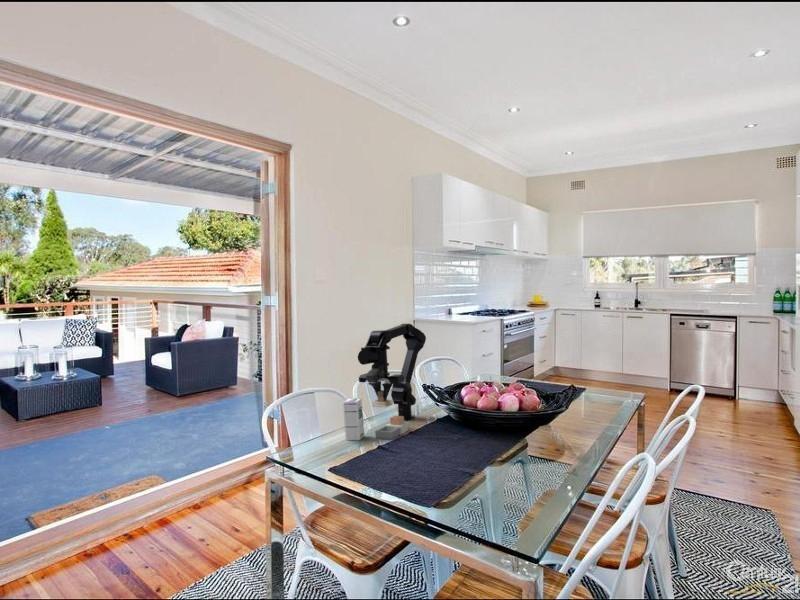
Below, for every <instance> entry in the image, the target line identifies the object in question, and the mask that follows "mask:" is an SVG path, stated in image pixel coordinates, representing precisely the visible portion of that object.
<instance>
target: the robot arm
mask: <svg viewBox="0 0 800 600" xmlns="http://www.w3.org/2000/svg"><path fill="white" fill-rule="evenodd" d="M369 333H370V334H369V336H368V339H367V342H366V344H365V346H364V347H363V346H362V347H361V348H360V351H359V352H358V355H357V360H358V362H359V363H360V365H363V366H364V365H370V364H371V369H369V371H368V372H367V373H363V374H360V375H359V376H358V383H366V382H367V384H368V385H369V386H371V387H372V389H373V390H374V392H375V394H376V397H377V398H378V394H377V392H378V391H380V390H382V387H383V390H384V400H386V399H388V396H389V394H390V393H391V394H390V397H391V400H392V402H393V404H394V405H397V413H398V415H397V416H404V421H410V420H411V419H413V417H414V418H415V417H416V415H412V406H414V405H415V404H416V403H417V402H416V401H417V398H416V397H415V395H414V394H412V392H413V389H412V385H411V384H412V383H411V382H412V377H413V374H414V370H415V365H416V362H417V359H418V354H419V352H421V350H422V349H423V348H424V346H425V343H426V341H427V337H426V335H425V333H424V332H423V331H422V330H420V329H418V328H417V327H415V326H414V325H413V324H411V323H401V324H400V325H396V326H394V327H391V328H389V329H383V330H382V329H380V330H372V331H370V332H369ZM400 336H402V337H403V339H405V345H406V348H407V349H406V354H405V358H404V361H403V365H402V369H401V372H400V374H392V375H390V372H389V370H388V369H389V368H388V367H389V366H390V363H389V362H388V352H387V351H388V350H390V349H391V346H388V344H389V343H390V342H391V341H392V339H395V338H397V337H400ZM382 382H384V383H382ZM391 387H392V388H391Z"/></svg>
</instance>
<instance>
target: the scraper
mask: <svg viewBox="0 0 800 600" xmlns="http://www.w3.org/2000/svg"><path fill="white" fill-rule="evenodd" d="M377 394H378V397H377V400H374V401H371V403H372V405H371V406H372V407H373V408H384V409H385V408H388V407H390V406H392V405H393V404H394V403H393V400H392V399H389V398H387V399H386V400H384V389H381V390H380V391H378V392H377Z"/></svg>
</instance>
